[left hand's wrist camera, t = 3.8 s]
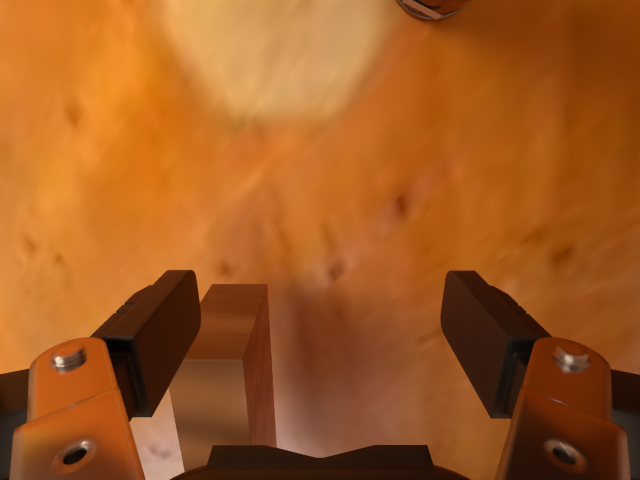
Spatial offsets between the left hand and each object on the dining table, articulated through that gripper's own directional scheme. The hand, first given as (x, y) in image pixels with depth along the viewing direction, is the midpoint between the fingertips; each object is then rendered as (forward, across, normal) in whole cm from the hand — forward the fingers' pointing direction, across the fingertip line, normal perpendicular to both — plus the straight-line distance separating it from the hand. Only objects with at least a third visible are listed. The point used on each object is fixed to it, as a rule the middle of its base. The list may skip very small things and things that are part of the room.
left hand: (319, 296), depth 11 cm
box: (+23, +8, +24) cm, 34 cm away
